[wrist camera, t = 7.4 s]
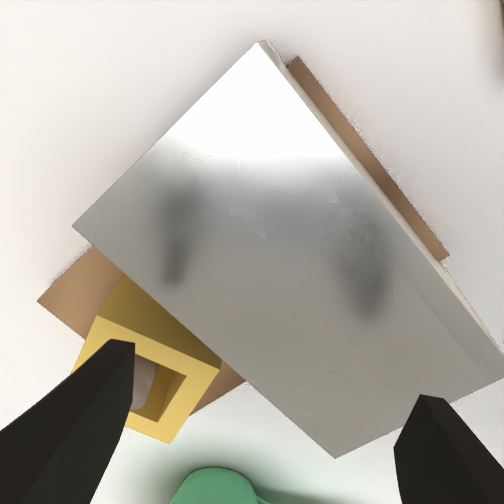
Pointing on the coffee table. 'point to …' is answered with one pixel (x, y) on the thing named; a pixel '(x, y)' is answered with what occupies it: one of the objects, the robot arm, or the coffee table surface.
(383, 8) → the coffee table surface
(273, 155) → the cover
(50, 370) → the coffee table surface
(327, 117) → the pin board
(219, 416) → the coffee table surface
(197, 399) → the hollow square block
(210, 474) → the mug
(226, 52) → the coffee table surface
